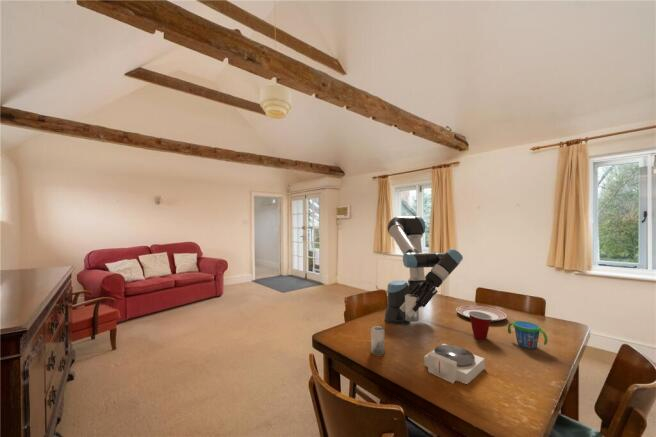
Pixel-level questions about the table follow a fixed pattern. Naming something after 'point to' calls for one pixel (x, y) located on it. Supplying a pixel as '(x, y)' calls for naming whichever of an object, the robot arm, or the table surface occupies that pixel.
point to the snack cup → (527, 334)
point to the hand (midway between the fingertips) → (404, 312)
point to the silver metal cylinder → (409, 301)
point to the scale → (453, 368)
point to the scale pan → (456, 354)
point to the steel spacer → (377, 340)
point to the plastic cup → (480, 324)
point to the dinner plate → (494, 313)
